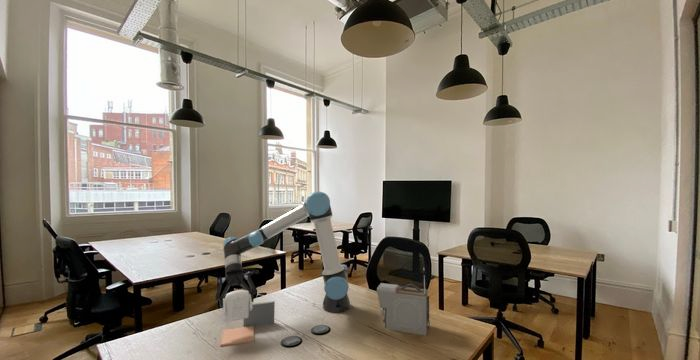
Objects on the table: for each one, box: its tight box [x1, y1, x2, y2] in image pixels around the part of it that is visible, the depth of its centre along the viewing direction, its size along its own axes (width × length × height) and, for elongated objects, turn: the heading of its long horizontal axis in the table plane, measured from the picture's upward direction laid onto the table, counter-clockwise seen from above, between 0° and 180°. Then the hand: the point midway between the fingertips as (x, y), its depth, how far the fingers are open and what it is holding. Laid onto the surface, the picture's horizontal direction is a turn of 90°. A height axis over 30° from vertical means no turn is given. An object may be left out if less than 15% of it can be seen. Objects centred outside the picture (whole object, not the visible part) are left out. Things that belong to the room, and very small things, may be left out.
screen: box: [242, 300, 275, 327], centre depth 137 cm, size 14×2×10 cm, turn 108°
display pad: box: [219, 326, 255, 347], centre depth 126 cm, size 13×13×1 cm
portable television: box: [376, 267, 431, 336], centre depth 136 cm, size 12×24×30 cm, turn 70°
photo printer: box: [223, 289, 249, 323], centre depth 126 cm, size 10×4×12 cm, turn 123°
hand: (238, 311), depth 124 cm, fingers closed on photo printer, 10 cm apart
